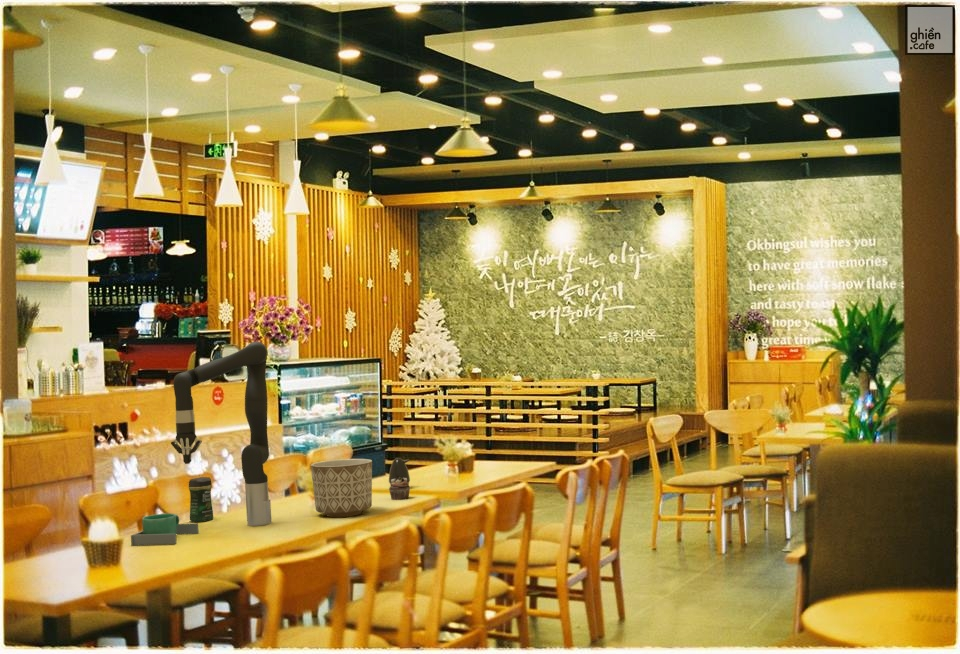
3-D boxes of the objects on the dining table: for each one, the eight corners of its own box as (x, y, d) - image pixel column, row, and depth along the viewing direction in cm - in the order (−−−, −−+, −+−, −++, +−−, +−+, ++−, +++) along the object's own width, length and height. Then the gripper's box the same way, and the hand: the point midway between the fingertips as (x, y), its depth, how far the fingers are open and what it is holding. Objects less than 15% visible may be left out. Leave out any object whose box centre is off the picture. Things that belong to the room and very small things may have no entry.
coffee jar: (199, 523, 486) (197, 479, 486) (187, 522, 491) (184, 478, 491) (217, 519, 494) (214, 476, 494) (204, 518, 499) (201, 475, 499)
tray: (198, 533, 460) (198, 523, 460) (175, 544, 437) (174, 534, 437) (156, 534, 463) (156, 524, 463) (131, 545, 439) (130, 535, 439)
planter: (357, 506, 508) (354, 457, 508) (385, 513, 486) (382, 461, 486) (303, 514, 494) (300, 463, 494) (329, 521, 472) (327, 468, 472)
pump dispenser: (409, 489, 554) (408, 458, 554) (388, 491, 554) (386, 459, 554) (411, 486, 564) (409, 456, 564) (390, 488, 565) (388, 457, 565)
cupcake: (414, 497, 528) (413, 475, 528) (402, 500, 520) (400, 478, 520) (397, 496, 533) (396, 475, 533) (385, 500, 525) (384, 478, 525)
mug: (158, 544, 439) (157, 519, 439) (136, 542, 446) (135, 518, 446) (191, 536, 453) (190, 512, 453) (169, 535, 460) (168, 511, 460)
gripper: (204, 419, 473) (206, 462, 473) (173, 421, 475) (175, 463, 475) (197, 421, 466) (199, 464, 466) (166, 422, 467) (168, 465, 467)
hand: (187, 463), depth 470 cm, fingers closed
